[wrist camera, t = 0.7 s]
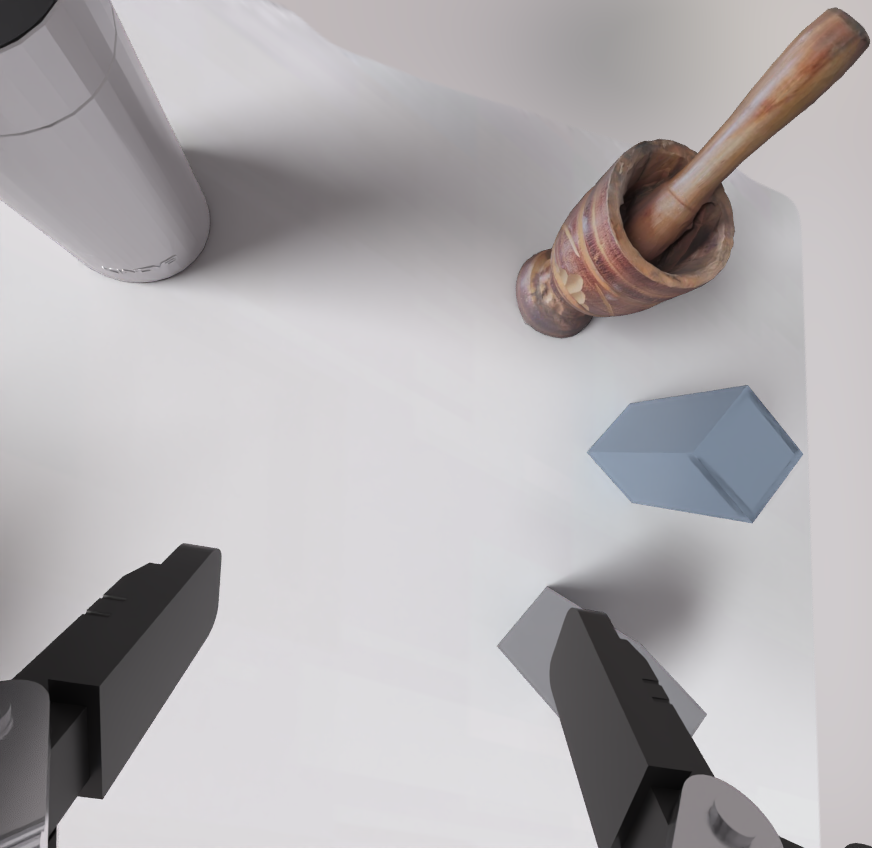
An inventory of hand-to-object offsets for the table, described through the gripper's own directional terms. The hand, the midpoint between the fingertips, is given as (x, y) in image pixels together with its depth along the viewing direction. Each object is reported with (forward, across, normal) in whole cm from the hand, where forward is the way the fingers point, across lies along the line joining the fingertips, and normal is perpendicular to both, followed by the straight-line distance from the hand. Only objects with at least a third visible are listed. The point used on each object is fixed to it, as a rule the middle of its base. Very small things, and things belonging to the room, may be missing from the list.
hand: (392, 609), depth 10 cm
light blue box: (+27, -19, +3) cm, 33 cm away
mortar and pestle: (+31, -10, -10) cm, 34 cm away
